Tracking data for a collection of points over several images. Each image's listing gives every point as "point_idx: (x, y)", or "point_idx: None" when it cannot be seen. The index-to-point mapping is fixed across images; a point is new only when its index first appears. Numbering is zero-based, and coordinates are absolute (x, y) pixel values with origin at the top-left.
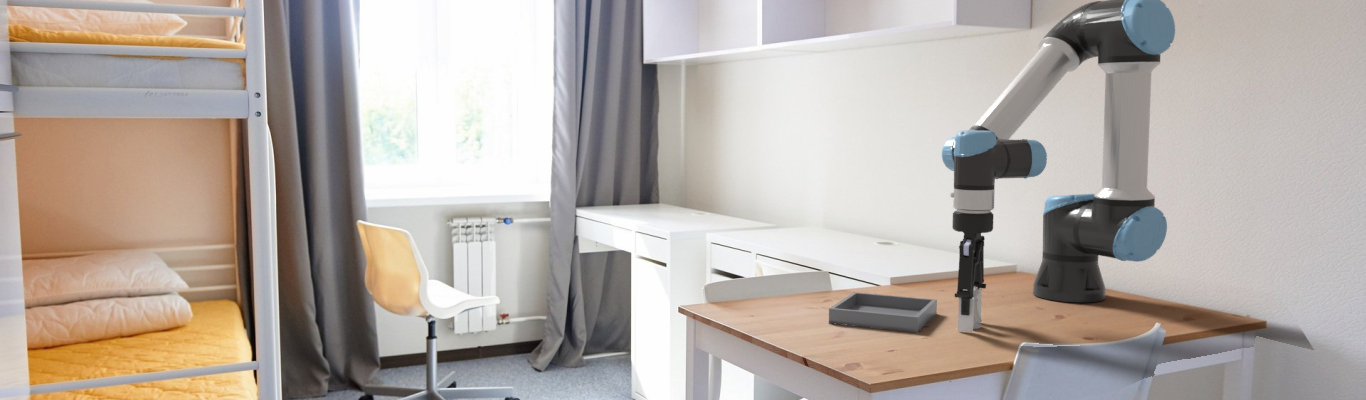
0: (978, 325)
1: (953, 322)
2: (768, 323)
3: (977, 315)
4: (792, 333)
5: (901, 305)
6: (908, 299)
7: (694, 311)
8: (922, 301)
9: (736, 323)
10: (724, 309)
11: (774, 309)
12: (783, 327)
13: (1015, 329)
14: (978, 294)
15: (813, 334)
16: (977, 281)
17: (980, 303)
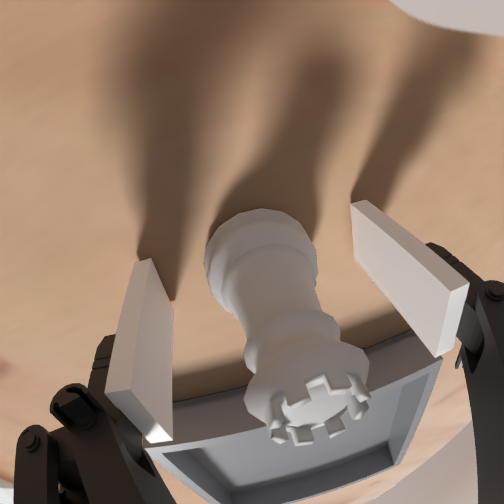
0: (271, 218)
1: (217, 333)
2: (411, 457)
3: (277, 250)
4: (458, 416)
5: (197, 466)
6: (191, 476)
7: (375, 497)
8: (174, 458)
9: (419, 462)
10: (353, 500)
11: (326, 497)
12: (428, 440)
13: (151, 68)
14: (143, 372)
15: (461, 404)
16: (134, 461)
17: (142, 319)
